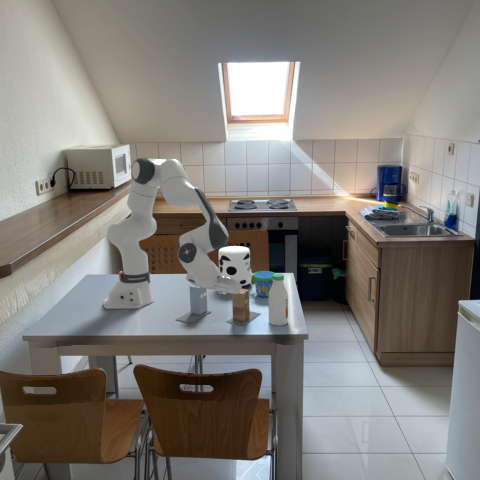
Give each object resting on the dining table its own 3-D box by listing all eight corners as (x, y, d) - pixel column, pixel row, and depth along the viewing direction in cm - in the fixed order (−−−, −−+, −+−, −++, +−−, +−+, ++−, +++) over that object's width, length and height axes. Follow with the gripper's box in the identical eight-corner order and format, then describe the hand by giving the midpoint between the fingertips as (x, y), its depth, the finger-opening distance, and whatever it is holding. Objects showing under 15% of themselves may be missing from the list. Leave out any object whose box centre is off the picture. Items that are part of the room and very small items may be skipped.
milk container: (259, 284, 236) (259, 249, 232) (234, 293, 225) (233, 256, 220) (235, 277, 248) (235, 243, 244) (210, 284, 237) (209, 250, 233)
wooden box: (243, 322, 190) (243, 293, 187) (232, 319, 193) (232, 291, 190) (250, 317, 194) (249, 289, 191) (239, 315, 197) (238, 287, 194)
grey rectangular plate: (243, 326, 187) (243, 325, 187) (226, 322, 191) (226, 321, 191) (260, 314, 199) (260, 313, 199) (244, 310, 203) (244, 309, 203)
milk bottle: (282, 327, 185) (282, 279, 180) (265, 323, 189) (264, 276, 184) (291, 320, 191) (291, 273, 187) (274, 317, 195) (274, 270, 191)
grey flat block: (191, 323, 191) (191, 323, 191) (175, 320, 195) (175, 319, 195) (211, 312, 202) (211, 311, 202) (196, 308, 206) (196, 308, 206)
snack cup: (284, 296, 218) (284, 275, 216) (267, 302, 212) (267, 280, 210) (262, 288, 230) (262, 268, 228) (245, 293, 224) (245, 272, 222)
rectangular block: (200, 315, 198) (199, 287, 195) (190, 312, 201) (189, 285, 198) (207, 311, 202) (206, 284, 199) (197, 308, 205) (196, 282, 202)
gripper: (235, 271, 165) (250, 289, 176) (188, 263, 176) (205, 281, 186) (228, 286, 163) (244, 304, 173) (181, 278, 173) (199, 295, 183)
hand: (223, 292), depth 180 cm, fingers closed
